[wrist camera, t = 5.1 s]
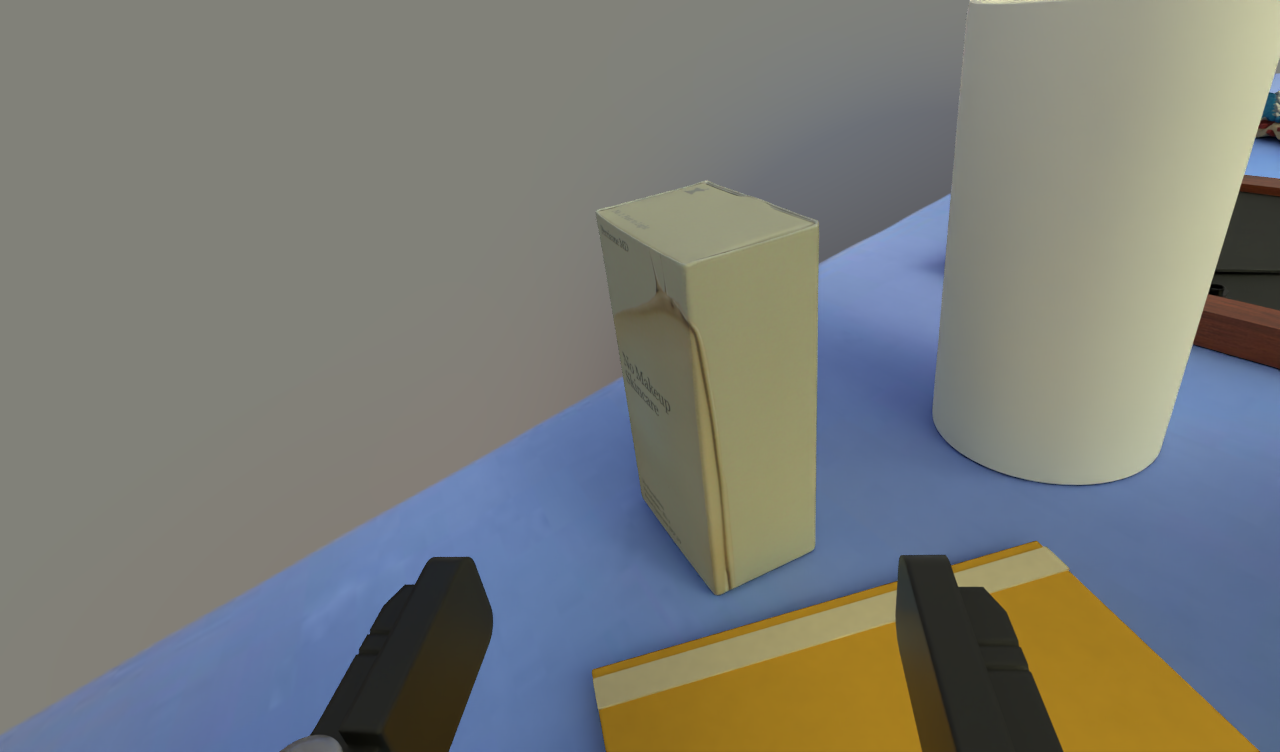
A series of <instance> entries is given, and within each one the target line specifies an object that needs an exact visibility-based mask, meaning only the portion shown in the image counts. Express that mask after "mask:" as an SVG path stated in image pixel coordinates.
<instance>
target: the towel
mask: <svg viewBox="0 0 1280 752" xmlns="http://www.w3.org/2000/svg"><path fill="white" fill-rule="evenodd" d="M951 567H952V570H953V573H954V576H955V579H956V582H957V584H958V587H984V588H985V589H986V590H987V591H988V592H989V594H990V595H991V596H992V597H993V598H994V599H995V600H996V601H997V602H998V603H999V604H1000V605H1001V606H1002V607H1003V609H1004V610H1005V611H1006V612H1007V614H1008V616H1009V619H1010V621H1011V624H1012V626H1013V629H1014V631H1015V634H1016V636H1017V638H1018V641H1019V647H1021V648H1022V651H1023V653H1024V656H1025V658H1026V661H1027V663H1028V668H1029V671H1030V672H1031V673H1032V675H1033V678H1034V680H1035V683H1036V685H1037V688H1038V690H1039V693H1040V695H1041V697H1042V700H1043V702H1044V705H1045V707H1046V710H1047V712H1048V715H1049V717H1050V720H1051V722H1052V724H1053V727H1054V729H1055V732H1056V734H1057V737H1058V739H1059V742H1060V744H1061V747H1062V749H1063V751H1064V752H1260V751H1259V750H1258V749H1257V748H1256V747H1255V746H1254V745H1252V744H1251V743H1250V742H1249V741H1248V740H1247V739H1246V738H1245V737H1244V736H1243V735H1242V734H1241V733H1240V732H1239V731H1238V730H1237V729H1236V728H1234V727H1233V726H1232V725H1231V724H1230V723H1229V722H1228V721H1227V720H1226V719H1225V718H1224V717H1223V716H1222V715H1221V714H1220V713H1219V712H1218V711H1216V710H1215V709H1214V708H1213V707H1212V706H1211V705H1210V704H1209V703H1208V702H1207V701H1206V700H1205V699H1204V698H1203V697H1202V696H1201V695H1200V694H1198V693H1197V692H1196V691H1195V690H1194V689H1193V688H1192V687H1191V686H1190V685H1189V684H1188V683H1187V682H1186V681H1185V680H1184V679H1183V678H1182V677H1181V676H1179V675H1178V674H1177V673H1176V672H1175V671H1174V670H1173V669H1172V668H1171V667H1170V666H1169V665H1168V664H1167V663H1166V662H1165V661H1164V660H1163V659H1161V658H1160V657H1159V656H1158V655H1157V654H1156V653H1155V652H1154V651H1153V650H1152V649H1151V648H1150V647H1149V646H1148V645H1147V644H1146V643H1145V642H1143V641H1142V640H1141V639H1140V638H1139V637H1138V636H1137V635H1136V634H1135V633H1134V632H1133V631H1132V630H1131V629H1130V628H1129V627H1128V626H1127V625H1125V624H1124V623H1123V622H1122V621H1121V620H1120V619H1119V618H1118V617H1117V616H1116V615H1115V614H1114V613H1113V612H1112V611H1111V610H1110V609H1109V608H1107V607H1106V606H1105V605H1104V604H1103V603H1102V602H1101V601H1100V600H1099V599H1098V598H1097V597H1096V596H1095V595H1094V594H1093V593H1092V592H1091V591H1089V590H1088V589H1087V588H1086V587H1085V586H1084V585H1083V584H1082V583H1081V582H1080V581H1079V580H1078V579H1077V578H1076V577H1075V576H1074V575H1073V574H1071V573H1070V572H1069V571H1068V570H1069V568H1068V567H1067V566H1066V565H1065V564H1064V563H1063V562H1062V561H1061V560H1060V559H1059V558H1058V557H1057V556H1056V555H1055V554H1054V553H1053V552H1051V551H1050V550H1049V549H1048V548H1047V547H1043V546H1042V545H1041V544H1040V543H1039V542H1037V541H1033V542H1030V543H1027V544H1023V545H1020V546H1016V547H1013V548H1009V549H1006V550H1002V551H999V552H996V553H992V554H989V555H985V556H982V557H978V558H975V559H971V560H968V561H965V562H961V563H958V564H954V565H951ZM896 596H897V581H896V582H892V583H889V584H885V585H882V586H879V587H875V588H872V589H868V590H865V591H861V592H858V593H854V594H851V595H848V596H844V597H841V598H837V599H834V600H830V601H827V602H824V603H820V604H817V605H813V606H810V607H806V608H803V609H799V610H796V611H793V612H789V613H786V614H782V615H779V616H775V617H772V618H768V619H765V620H762V621H758V622H755V623H751V624H748V625H744V626H741V627H737V628H734V629H731V630H727V631H724V632H720V633H717V634H713V635H710V636H707V637H703V638H700V639H696V640H693V641H689V642H686V643H682V644H679V645H676V646H672V647H669V648H665V649H662V650H658V651H655V652H651V653H648V654H645V655H641V656H638V657H634V658H631V659H627V660H624V661H620V662H617V663H614V664H610V665H607V666H603V667H600V668H596V669H593V670H592V677H593V684H594V690H595V695H596V701H597V707H598V710H599V716H600V721H601V727H602V733H603V738H604V744H605V749H606V752H922V749H921V744H920V740H919V736H918V731H917V727H916V722H915V718H914V714H913V709H912V705H911V700H910V696H909V692H908V687H907V683H906V678H905V674H904V670H903V665H902V661H901V656H900V652H899V647H898V641H897V634H896V621H895V611H896Z"/></svg>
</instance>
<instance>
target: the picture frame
mask: <svg viewBox="0 0 1280 752" xmlns="http://www.w3.org/2000/svg"><path fill="white" fill-rule="evenodd" d="M1193 344H1194V345H1198V346H1201V347H1205V348H1208V349H1212V350H1216V351H1219V352H1223V353H1226V354H1230V355H1233V356H1237V357H1240V358H1244V359H1247V360H1251V361H1254V362H1258V363H1261V364H1265V365H1268V366H1272V367H1275V368H1279V369H1280V179H1277V178H1268V177H1259V176H1250V175H1244V177H1243V180H1242V183H1241V186H1240V190H1239V193H1238V196H1237V200H1236V203H1235V206H1234V209H1233V213H1232V216H1231V219H1230V223H1229V226H1228V229H1227V233H1226V236H1225V239H1224V242H1223V246H1222V249H1221V252H1220V256H1219V259H1218V262H1217V266H1216V269H1215V272H1214V275H1213V279H1212V282H1211V285H1210V289H1209V292H1208V295H1207V298H1206V302H1205V305H1204V308H1203V312H1202V315H1201V318H1200V322H1199V325H1198V328H1197V331H1196V335H1195V338H1194V341H1193Z"/></svg>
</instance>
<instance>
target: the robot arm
mask: <svg viewBox="0 0 1280 752" xmlns="http://www.w3.org/2000/svg"><path fill="white" fill-rule="evenodd" d="M895 621H896V634H897V641H898V647H899V652H900V656H901V661H902V665H903V670H904V674H905V678H906V683H907V687H908V692H909V696H910V700H911V705H912V709H913V714H914V718H915V722H916V727H917V731H918V736H919V740H920V744H921V749H922V752H1064V751H1063V749H1062V747H1061V744H1060V742H1059V739H1058V737H1057V734H1056V732H1055V729H1054V727H1053V724H1052V722H1051V720H1050V717H1049V715H1048V712H1047V710H1046V707H1045V705H1044V702H1043V700H1042V697H1041V695H1040V693H1039V690H1038V688H1037V685H1036V683H1035V680H1034V678H1033V675H1032V673H1031V672H1030V671H1029V668H1028V663H1027V661H1026V658H1025V656H1024V653H1023V651H1022V648H1021V647H1019V641H1018V638H1017V636H1016V634H1015V631H1014V629H1013V626H1012V624H1011V621H1010V619H1009V616H1008V614H1007V612H1006V611H1005V610H1004V609H1003V607H1002V606H1001V605H1000V604H999V603H998V602H997V601H996V600H995V599H994V598H993V597H992V596H991V595H990V594H989V592H988V591H987V590H986V589H985V588H984V587H958V584H957V582H956V579H955V576H954V573H953V570H952V567H951V564H950V562H949V559H948V558H947V556H946V555H901V556H900V558H899V566H898V581H897V596H896V611H895ZM492 629H493V613H492V609H491V605H490V603H489V600H488V597H487V595H486V592H485V589H484V587H483V584H482V581H481V579H480V576H479V573H478V571H477V568H476V565H475V563H474V561H473V559H472V558H470V557H433V558H431V559H430V560H429V561H428V562H427V563H426V565H425V567H424V568H423V570H422V572H421V574H420V576H419V578H418V580H417V582H416V583H415V585H404V586H403V587H402V588H401V589H400V590H399V591H398V592H397V593H396V594H395V595H394V596H393V597H392V598H391V599H390V600H389V601H388V602H387V603H386V604H385V605H384V606H383V608H382V609H381V611H380V613H379V615H378V617H377V618H376V620H375V622H374V624H373V626H372V627H371V629H370V634H369V635H367V636H366V638H365V640H364V642H363V643H362V645H361V647H360V649H359V654H358V655H356V656H355V658H354V659H353V661H352V663H351V665H350V666H349V668H348V670H347V672H346V674H345V675H344V677H343V679H342V681H341V683H340V684H339V686H338V688H337V690H336V691H335V693H334V695H333V697H332V699H331V700H330V702H329V704H328V706H327V707H326V709H325V711H324V713H323V715H322V716H321V718H320V720H319V722H318V724H317V725H316V727H315V729H314V730H313V732H312V733H311V735H310V736H308V737H304V738H302V739H299V740H297V741H295V742H293V743H292V744H290V745H288V746H287V747H285V748H284V749H283V750H281V751H280V752H449V749H450V747H451V744H452V741H453V739H454V736H455V733H456V731H457V728H458V725H459V723H460V720H461V717H462V715H463V712H464V709H465V707H466V704H467V701H468V699H469V696H470V693H471V691H472V688H473V685H474V683H475V680H476V677H477V675H478V672H479V669H480V667H481V664H482V661H483V659H484V656H485V653H486V651H487V648H488V645H489V643H490V639H491V635H492Z"/></svg>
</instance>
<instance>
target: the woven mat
mask: <svg viewBox="0 0 1280 752" xmlns="http://www.w3.org/2000/svg"><path fill="white" fill-rule="evenodd" d="M1264 136H1272V137H1275V136H1276V137H1277V139H1279V140H1280V91H1278V92H1276V93H1275V94H1274V93H1269V94H1268V97H1267V101H1266V104H1265V107H1264V111H1263V114H1262V117H1261V120H1260V124H1259V127H1258V130H1257V134H1256V137H1264Z"/></svg>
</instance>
